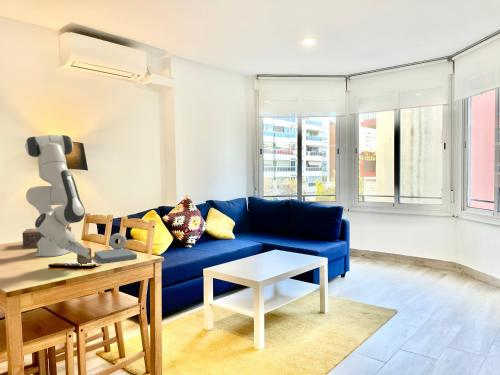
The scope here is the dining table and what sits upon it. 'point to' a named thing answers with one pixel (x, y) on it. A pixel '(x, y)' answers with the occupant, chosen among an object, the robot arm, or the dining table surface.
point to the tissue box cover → (33, 237)
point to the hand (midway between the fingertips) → (85, 256)
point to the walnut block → (84, 258)
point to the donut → (117, 236)
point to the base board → (115, 255)
